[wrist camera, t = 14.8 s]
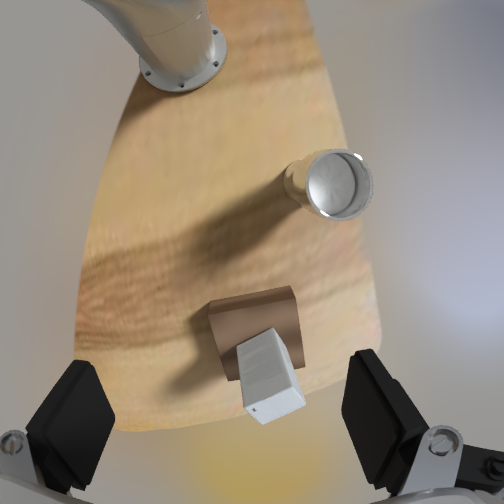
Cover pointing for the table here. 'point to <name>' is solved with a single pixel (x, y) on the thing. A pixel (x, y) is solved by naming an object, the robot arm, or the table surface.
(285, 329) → the walnut block
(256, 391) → the skincare box
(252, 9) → the table surface
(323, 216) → the beer glass
